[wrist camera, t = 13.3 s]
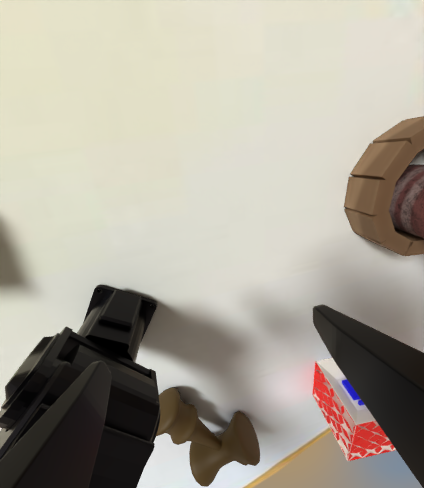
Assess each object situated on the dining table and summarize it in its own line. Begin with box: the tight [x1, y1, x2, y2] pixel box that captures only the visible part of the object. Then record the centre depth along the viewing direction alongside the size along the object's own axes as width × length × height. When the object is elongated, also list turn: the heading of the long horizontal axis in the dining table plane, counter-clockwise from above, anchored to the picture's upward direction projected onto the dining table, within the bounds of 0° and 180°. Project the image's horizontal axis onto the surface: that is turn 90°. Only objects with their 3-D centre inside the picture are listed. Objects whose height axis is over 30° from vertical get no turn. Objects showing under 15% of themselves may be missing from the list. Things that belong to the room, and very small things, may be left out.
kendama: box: [156, 388, 260, 486], centre depth 30 cm, size 6×10×20 cm
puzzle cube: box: [313, 358, 396, 461], centre depth 28 cm, size 8×8×8 cm
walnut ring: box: [344, 116, 424, 256], centre depth 19 cm, size 12×12×4 cm
